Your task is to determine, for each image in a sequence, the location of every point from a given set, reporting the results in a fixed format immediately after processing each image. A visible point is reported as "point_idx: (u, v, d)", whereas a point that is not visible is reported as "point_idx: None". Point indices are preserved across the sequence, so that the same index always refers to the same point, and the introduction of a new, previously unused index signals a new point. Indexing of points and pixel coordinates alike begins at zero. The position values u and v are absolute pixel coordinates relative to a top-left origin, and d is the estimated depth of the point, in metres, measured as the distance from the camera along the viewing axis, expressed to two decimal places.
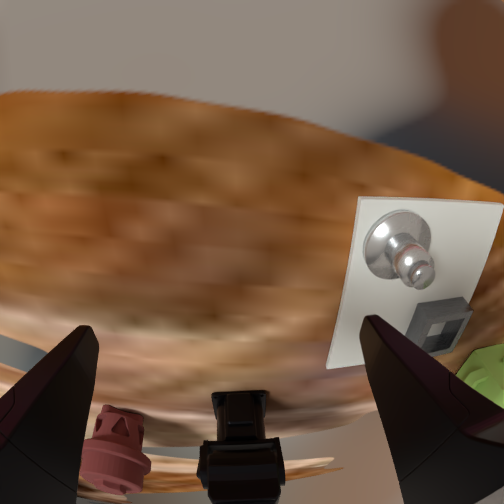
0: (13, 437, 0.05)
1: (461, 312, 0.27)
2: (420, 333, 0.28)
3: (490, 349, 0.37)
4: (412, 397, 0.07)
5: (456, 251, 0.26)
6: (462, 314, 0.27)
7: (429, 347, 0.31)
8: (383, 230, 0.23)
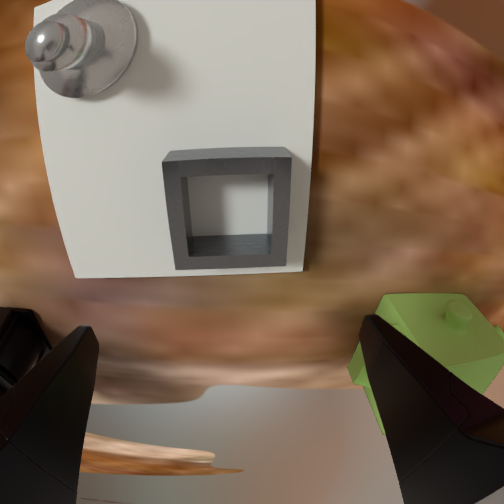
0: (13, 438, 0.05)
1: (254, 156, 0.16)
2: None
3: (423, 297, 0.25)
4: (412, 397, 0.07)
5: (217, 45, 0.14)
6: (259, 162, 0.16)
7: (225, 248, 0.19)
8: None
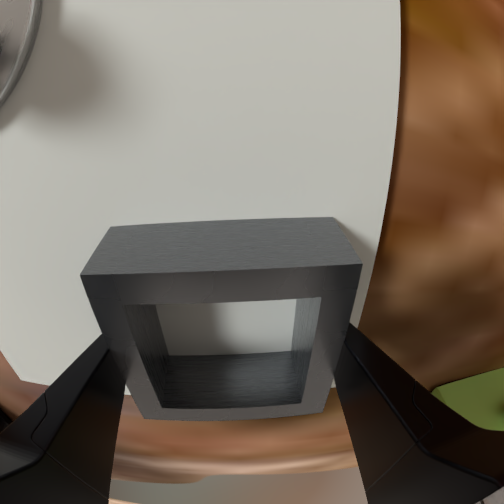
0: (49, 448, 0.05)
1: (282, 265, 0.07)
2: None
3: (478, 381, 0.16)
4: (373, 406, 0.07)
5: (196, 2, 0.06)
6: (292, 277, 0.07)
7: (223, 389, 0.10)
8: None
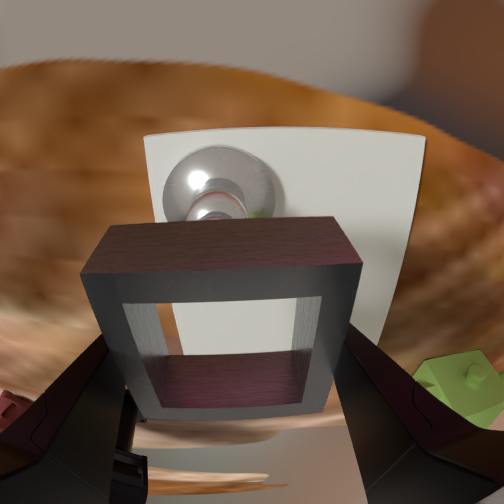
0: (49, 448, 0.05)
1: (283, 264, 0.07)
2: None
3: (451, 358, 0.30)
4: (373, 406, 0.07)
5: (343, 210, 0.19)
6: (293, 276, 0.07)
7: (223, 389, 0.10)
8: (180, 175, 0.17)
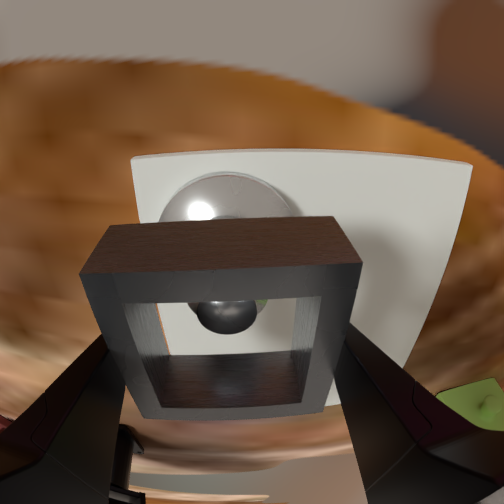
0: (49, 448, 0.05)
1: (282, 263, 0.07)
2: None
3: (465, 389, 0.26)
4: (373, 406, 0.07)
5: (375, 252, 0.16)
6: (292, 276, 0.07)
7: (223, 389, 0.10)
8: (177, 212, 0.13)
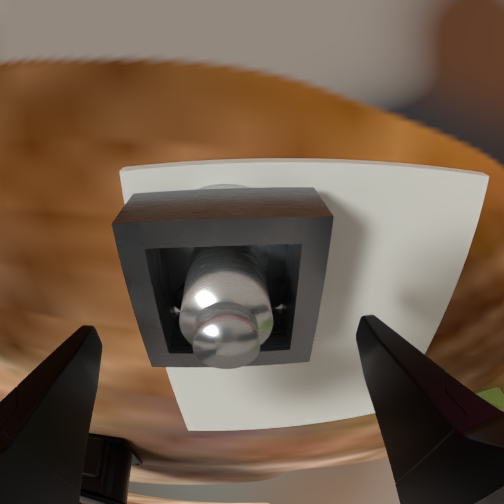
0: (17, 438, 0.05)
1: (270, 215, 0.09)
2: None
3: None
4: (408, 398, 0.07)
5: (385, 269, 0.15)
6: (278, 225, 0.09)
7: None
8: None
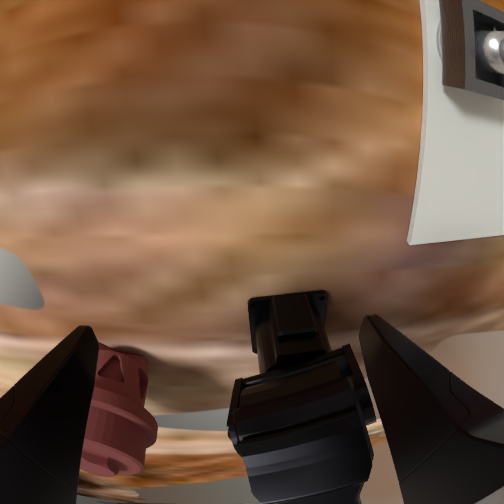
0: (13, 437, 0.05)
1: None
2: (462, 23, 0.11)
3: None
4: (412, 397, 0.07)
5: None
6: None
7: None
8: None
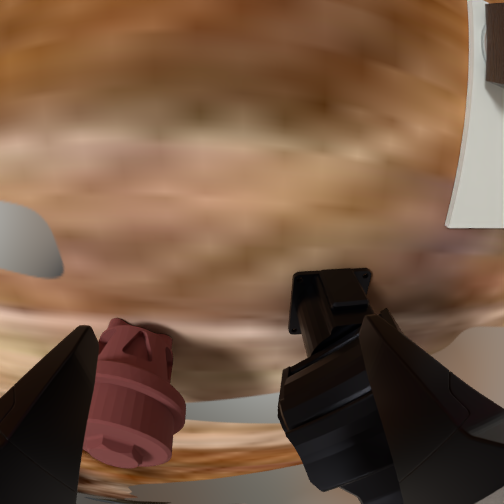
0: (13, 437, 0.05)
1: None
2: None
3: None
4: (412, 397, 0.07)
5: None
6: None
7: None
8: None
